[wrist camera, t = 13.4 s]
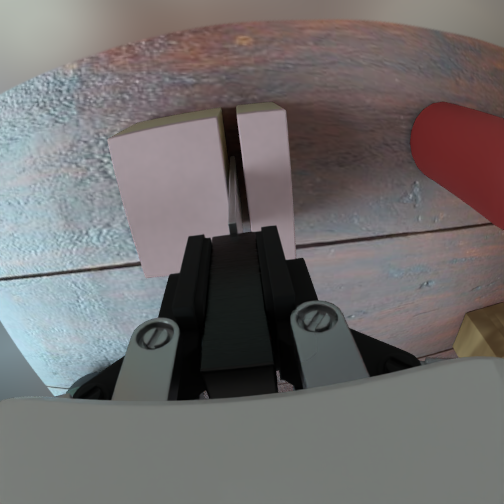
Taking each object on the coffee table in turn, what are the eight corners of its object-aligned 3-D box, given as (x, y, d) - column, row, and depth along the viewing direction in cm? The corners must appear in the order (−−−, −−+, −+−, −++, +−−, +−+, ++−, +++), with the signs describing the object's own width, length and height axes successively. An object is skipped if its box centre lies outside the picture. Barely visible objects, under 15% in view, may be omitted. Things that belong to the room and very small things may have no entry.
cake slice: (272, 101, 20) (286, 109, 15) (283, 219, 25) (296, 261, 20) (236, 105, 20) (236, 114, 15) (250, 223, 25) (255, 266, 20)
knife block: (502, 301, 32) (535, 342, 25) (488, 334, 35) (515, 374, 28) (465, 313, 32) (497, 359, 25) (452, 346, 35) (478, 391, 28)
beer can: (456, 184, 24) (548, 254, 13) (397, 168, 23) (494, 241, 13) (475, 115, 20) (582, 159, 10) (416, 89, 20) (533, 119, 9)
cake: (221, 107, 20) (216, 117, 15) (237, 224, 25) (239, 268, 20) (137, 122, 20) (106, 139, 15) (162, 234, 25) (145, 278, 20)
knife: (244, 154, 20) (274, 351, 6) (250, 200, 21) (281, 426, 8) (219, 157, 20) (193, 359, 6) (226, 203, 22) (221, 432, 8)
